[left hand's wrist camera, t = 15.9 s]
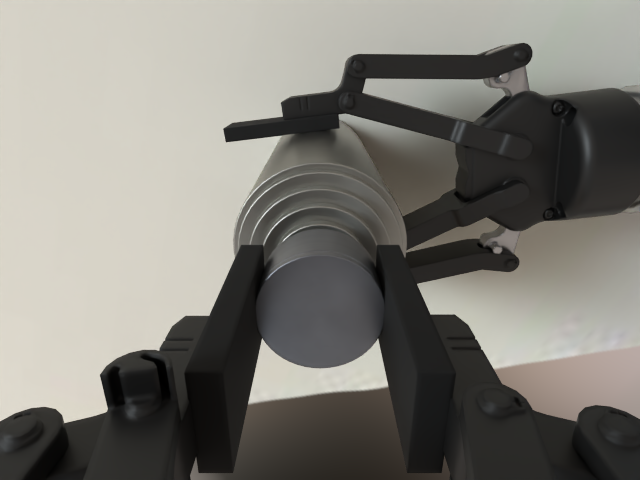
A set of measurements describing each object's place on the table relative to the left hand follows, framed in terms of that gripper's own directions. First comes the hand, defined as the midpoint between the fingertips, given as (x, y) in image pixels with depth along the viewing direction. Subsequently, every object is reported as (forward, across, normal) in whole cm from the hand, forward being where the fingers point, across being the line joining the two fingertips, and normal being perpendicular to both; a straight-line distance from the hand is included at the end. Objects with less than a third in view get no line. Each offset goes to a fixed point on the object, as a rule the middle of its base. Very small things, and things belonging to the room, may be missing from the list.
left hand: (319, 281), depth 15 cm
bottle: (+20, 0, 0) cm, 20 cm away
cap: (-2, 0, 0) cm, 2 cm away
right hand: (+13, -5, -1) cm, 14 cm away
